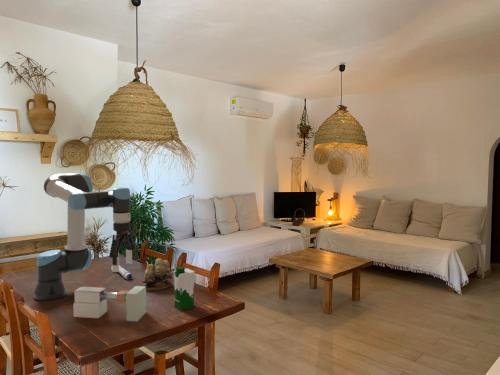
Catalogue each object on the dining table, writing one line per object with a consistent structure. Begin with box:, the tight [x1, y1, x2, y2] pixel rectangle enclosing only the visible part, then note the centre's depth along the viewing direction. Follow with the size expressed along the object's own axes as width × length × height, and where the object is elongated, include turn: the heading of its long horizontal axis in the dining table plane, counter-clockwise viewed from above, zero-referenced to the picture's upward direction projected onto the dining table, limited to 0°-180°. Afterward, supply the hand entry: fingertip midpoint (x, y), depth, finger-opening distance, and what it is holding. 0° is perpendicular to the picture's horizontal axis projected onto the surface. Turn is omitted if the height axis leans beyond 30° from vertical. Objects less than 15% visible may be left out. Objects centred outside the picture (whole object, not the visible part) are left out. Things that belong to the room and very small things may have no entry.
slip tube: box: [100, 289, 130, 304], centre depth 175 cm, size 19×4×4 cm, turn 83°
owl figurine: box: [141, 258, 174, 293], centre depth 214 cm, size 18×12×17 cm, turn 130°
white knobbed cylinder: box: [110, 265, 133, 281], centre depth 238 cm, size 5×7×25 cm
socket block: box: [125, 285, 147, 322], centre depth 174 cm, size 5×10×13 cm, turn 173°
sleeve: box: [73, 286, 108, 319], centre depth 177 cm, size 12×8×12 cm, turn 83°
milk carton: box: [172, 266, 196, 311], centre depth 186 cm, size 9×9×20 cm
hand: (122, 267), depth 174 cm, fingers open, 13 cm apart
